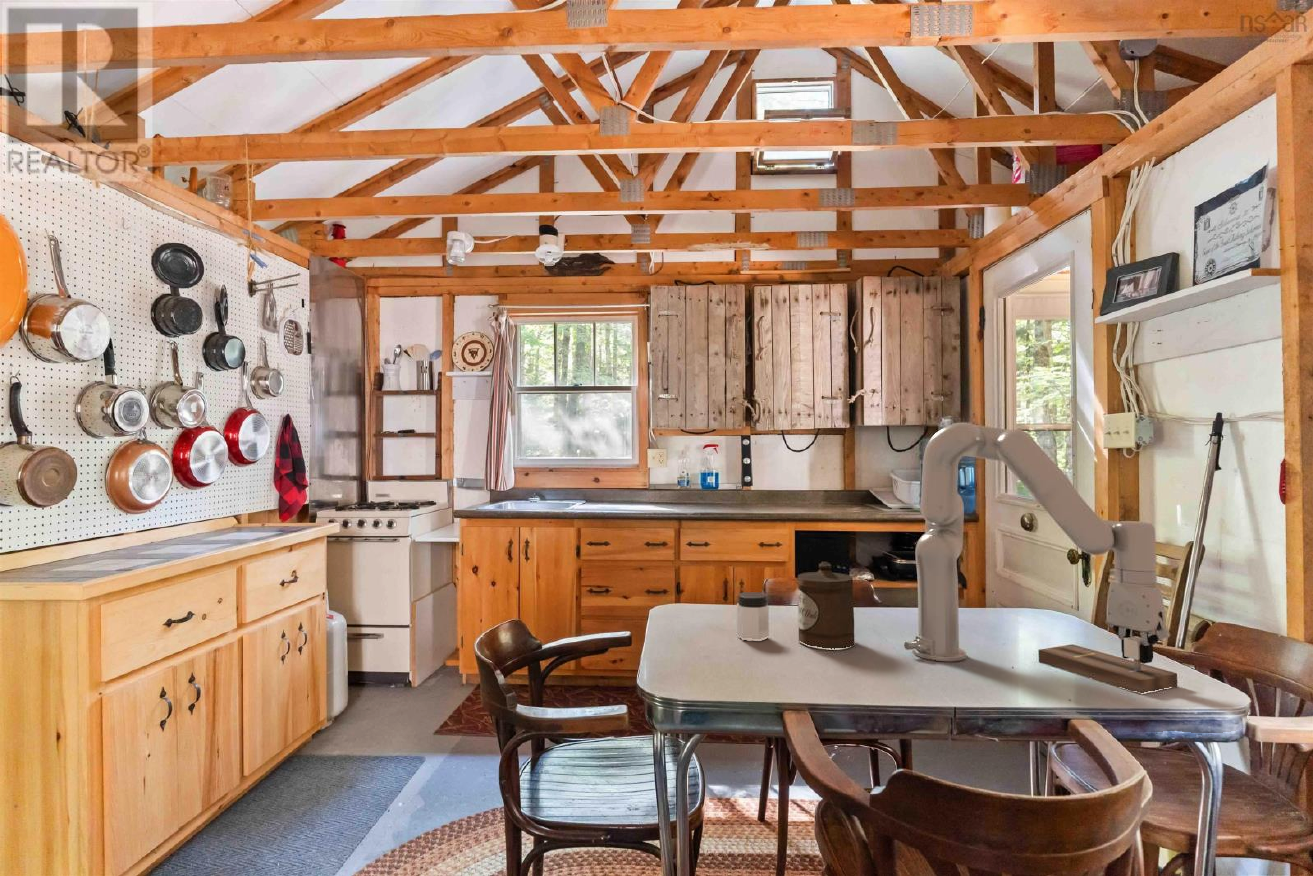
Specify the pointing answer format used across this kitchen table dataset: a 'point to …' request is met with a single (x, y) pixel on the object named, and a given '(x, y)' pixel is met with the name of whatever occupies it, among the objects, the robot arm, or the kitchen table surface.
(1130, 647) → the block
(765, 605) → the jar
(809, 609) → the wooden container
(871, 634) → the kitchen table surface
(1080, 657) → the control board
